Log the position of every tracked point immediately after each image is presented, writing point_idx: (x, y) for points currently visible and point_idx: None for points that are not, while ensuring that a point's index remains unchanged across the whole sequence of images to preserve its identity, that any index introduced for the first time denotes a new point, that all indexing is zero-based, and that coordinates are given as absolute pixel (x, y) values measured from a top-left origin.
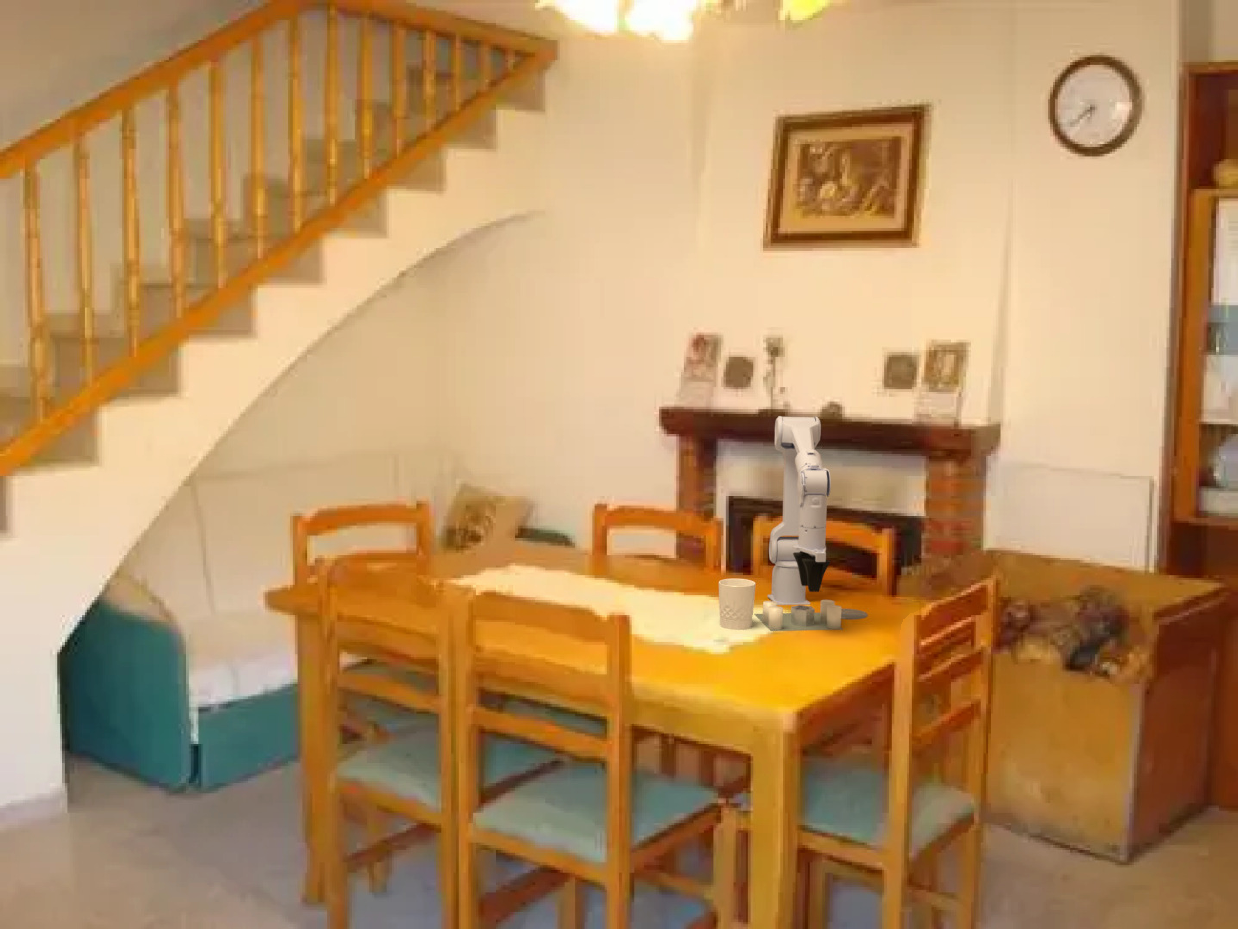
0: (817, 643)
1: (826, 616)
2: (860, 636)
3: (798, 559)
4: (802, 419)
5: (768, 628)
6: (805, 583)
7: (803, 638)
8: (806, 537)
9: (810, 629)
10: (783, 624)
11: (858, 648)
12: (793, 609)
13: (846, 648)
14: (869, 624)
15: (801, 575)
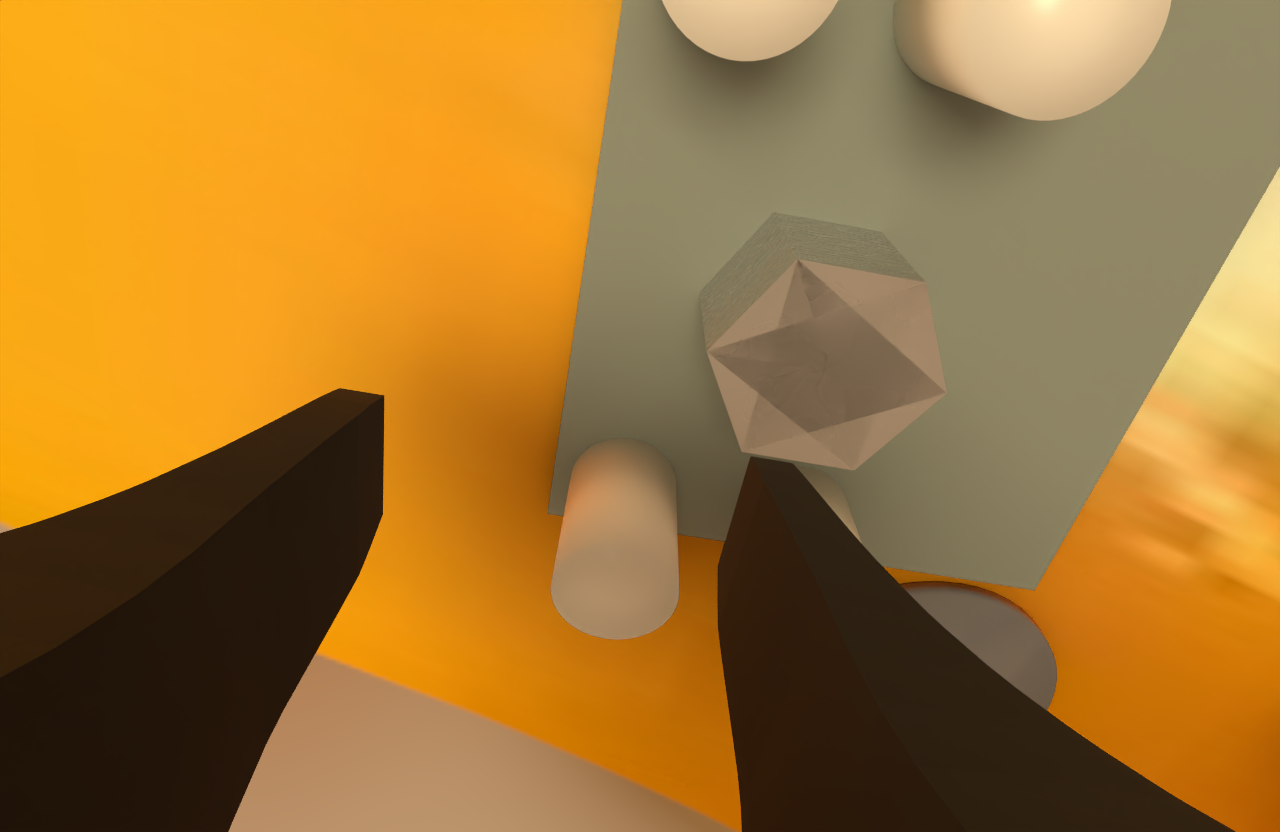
0: (203, 159)
1: None
2: (397, 544)
3: (904, 806)
4: None
5: None
6: (741, 516)
7: (382, 112)
8: None
9: (598, 288)
10: (839, 125)
11: (64, 398)
12: (838, 264)
13: (54, 317)
14: (674, 702)
15: (791, 549)
